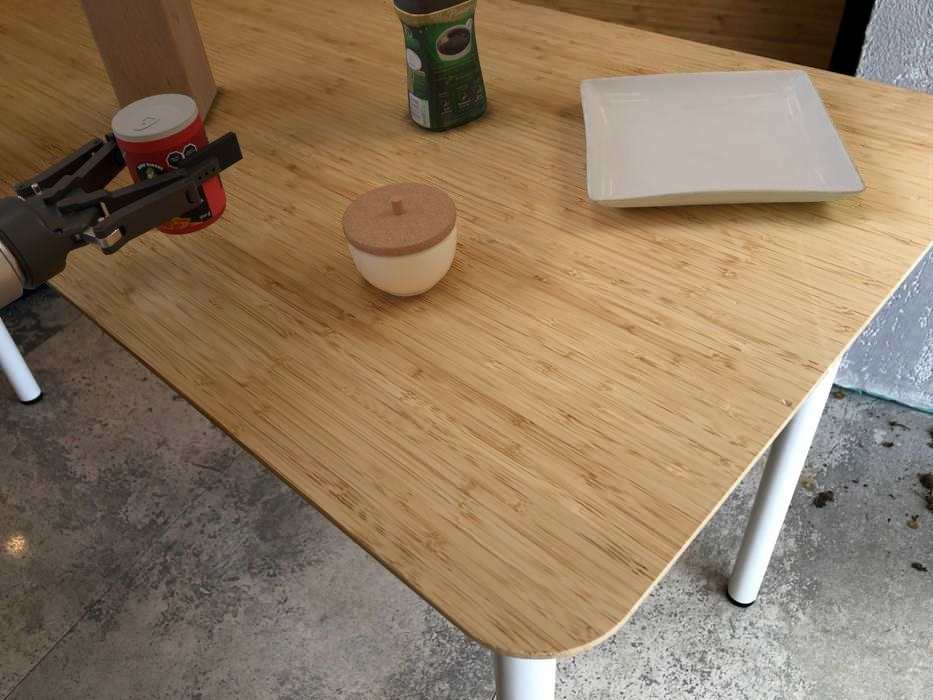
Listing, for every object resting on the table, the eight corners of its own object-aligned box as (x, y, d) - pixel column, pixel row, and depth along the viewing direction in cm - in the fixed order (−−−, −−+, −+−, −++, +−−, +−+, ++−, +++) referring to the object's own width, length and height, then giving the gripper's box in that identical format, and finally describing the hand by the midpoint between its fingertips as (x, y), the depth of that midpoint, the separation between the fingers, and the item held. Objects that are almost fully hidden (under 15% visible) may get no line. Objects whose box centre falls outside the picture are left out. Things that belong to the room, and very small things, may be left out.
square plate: (862, 220, 85) (871, 187, 82) (587, 229, 88) (587, 197, 85) (802, 93, 105) (808, 63, 102) (578, 103, 107) (578, 74, 105)
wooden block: (203, 127, 112) (152, -30, 98) (129, 133, 112) (67, -23, 98) (218, 91, 119) (173, -59, 105) (149, 97, 119) (94, -52, 106)
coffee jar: (464, 92, 112) (450, -55, 100) (496, 115, 107) (486, -38, 94) (400, 116, 109) (377, -34, 96) (430, 140, 104) (411, -14, 91)
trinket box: (387, 328, 79) (371, 247, 73) (338, 272, 86) (319, 194, 80) (483, 284, 83) (476, 203, 76) (428, 233, 90) (417, 155, 83)
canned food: (138, 236, 83) (95, 135, 75) (169, 190, 89) (132, 93, 81) (212, 237, 82) (176, 135, 74) (239, 191, 87) (208, 92, 80)
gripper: (-42, 252, 78) (157, 141, 91) (86, 333, 69) (289, 196, 81) (-84, 182, 73) (132, 75, 86) (46, 259, 63) (270, 125, 76)
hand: (208, 134), depth 83 cm, fingers closed on canned food, 8 cm apart
